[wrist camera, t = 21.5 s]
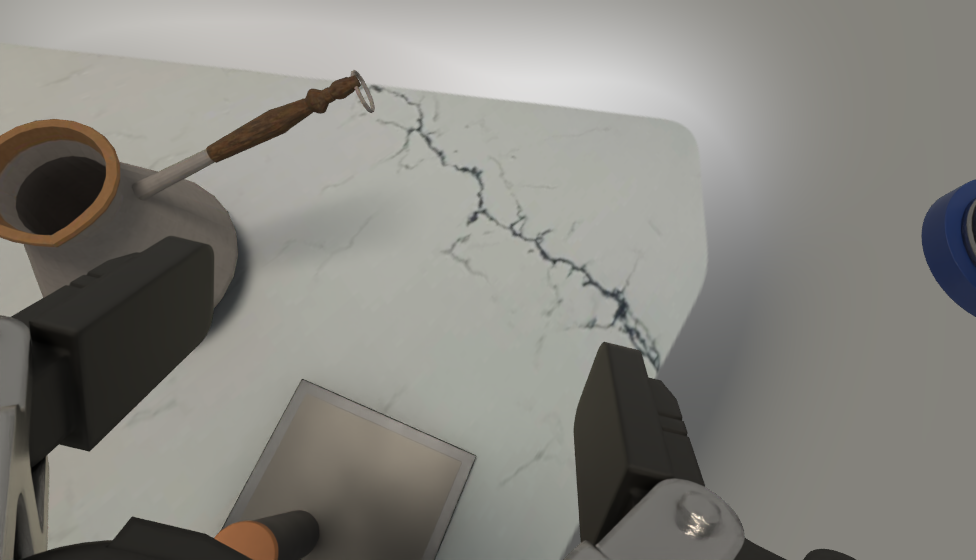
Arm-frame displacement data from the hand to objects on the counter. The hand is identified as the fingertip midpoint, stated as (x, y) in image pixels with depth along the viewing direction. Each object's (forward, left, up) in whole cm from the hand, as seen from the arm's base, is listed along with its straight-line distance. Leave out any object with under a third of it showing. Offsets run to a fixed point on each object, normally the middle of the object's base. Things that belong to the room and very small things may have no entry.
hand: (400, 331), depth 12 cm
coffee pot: (+16, -6, -27) cm, 32 cm away
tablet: (+2, +8, -27) cm, 28 cm away
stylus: (+4, +8, -26) cm, 27 cm away
